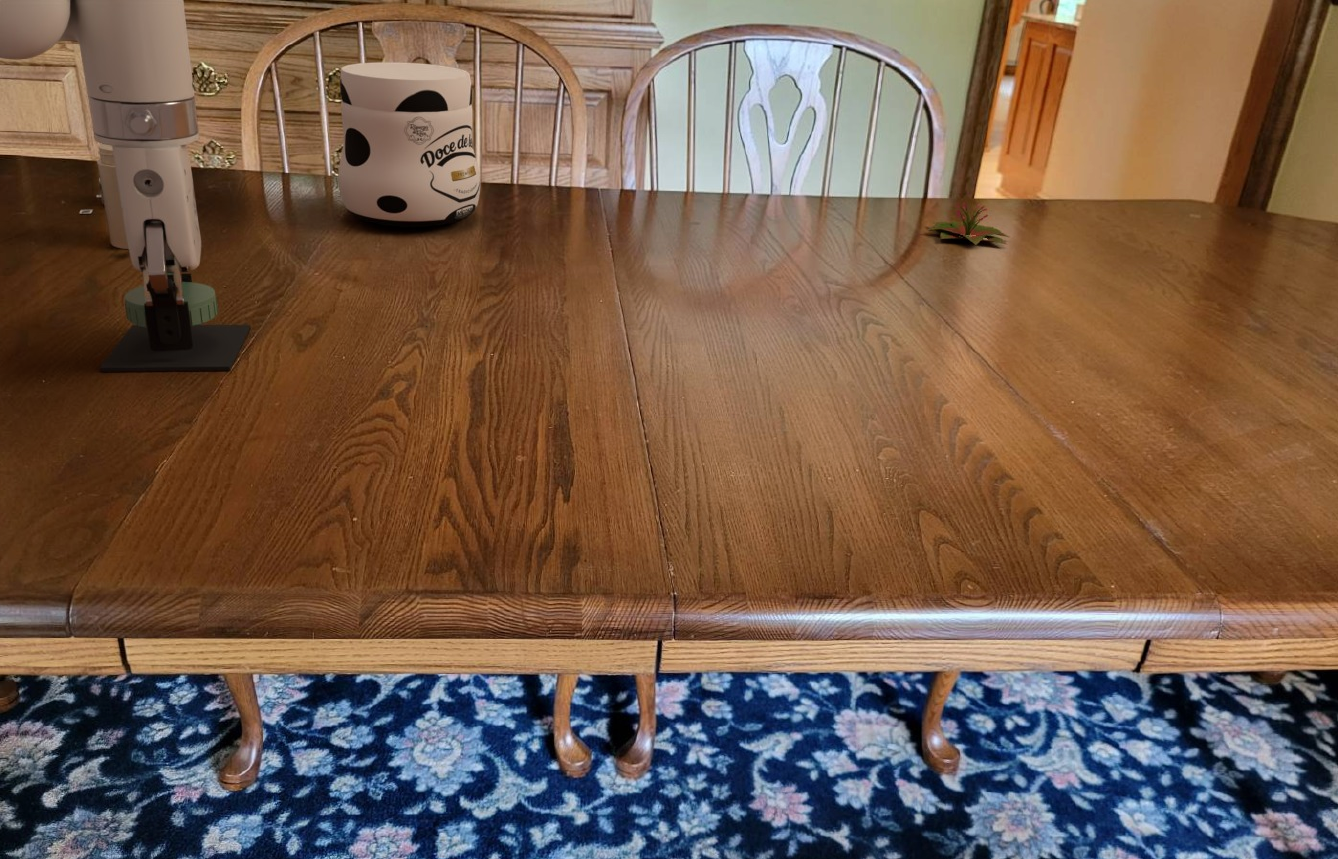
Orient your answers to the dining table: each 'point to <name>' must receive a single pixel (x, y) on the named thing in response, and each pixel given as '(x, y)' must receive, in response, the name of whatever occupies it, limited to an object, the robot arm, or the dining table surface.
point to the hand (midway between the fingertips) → (174, 331)
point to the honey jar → (111, 197)
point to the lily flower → (968, 228)
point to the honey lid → (195, 294)
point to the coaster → (178, 351)
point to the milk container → (407, 144)
